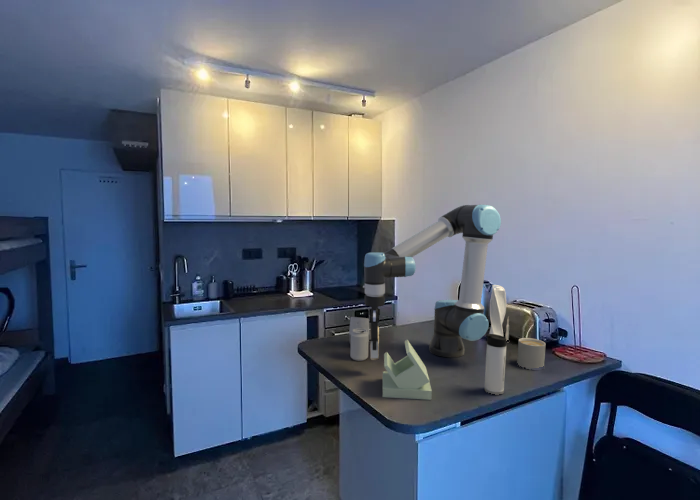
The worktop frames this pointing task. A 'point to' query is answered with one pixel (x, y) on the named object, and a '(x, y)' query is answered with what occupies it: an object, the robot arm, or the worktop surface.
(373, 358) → the dowel
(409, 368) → the socket
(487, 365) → the travel mug
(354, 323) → the smart speaker
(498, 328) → the skyscraper
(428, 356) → the worktop surface
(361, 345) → the can
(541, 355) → the coffee mug
